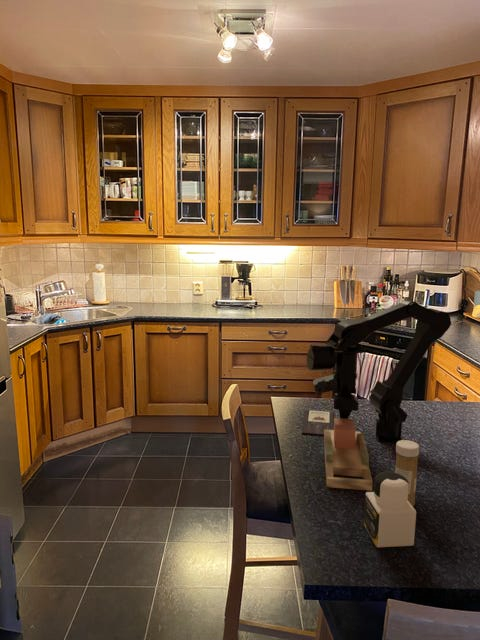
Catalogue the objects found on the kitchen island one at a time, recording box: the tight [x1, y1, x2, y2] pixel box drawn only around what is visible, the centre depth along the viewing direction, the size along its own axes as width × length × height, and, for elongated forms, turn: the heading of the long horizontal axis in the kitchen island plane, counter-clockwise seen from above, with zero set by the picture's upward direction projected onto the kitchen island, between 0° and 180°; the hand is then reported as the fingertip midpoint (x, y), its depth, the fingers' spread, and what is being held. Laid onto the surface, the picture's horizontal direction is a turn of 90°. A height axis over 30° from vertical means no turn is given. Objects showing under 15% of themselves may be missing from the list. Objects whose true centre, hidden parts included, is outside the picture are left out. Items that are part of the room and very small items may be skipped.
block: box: [334, 417, 356, 449], centre depth 126 cm, size 5×8×5 cm, turn 171°
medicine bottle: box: [363, 471, 417, 548], centre depth 89 cm, size 7×7×12 cm
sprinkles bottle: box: [394, 439, 420, 507], centre depth 100 cm, size 5×5×14 cm
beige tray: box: [323, 429, 374, 492], centre depth 120 cm, size 10×28×4 cm, turn 171°
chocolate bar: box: [301, 409, 335, 437], centre depth 144 cm, size 9×1×18 cm
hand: (342, 423), depth 131 cm, fingers closed
